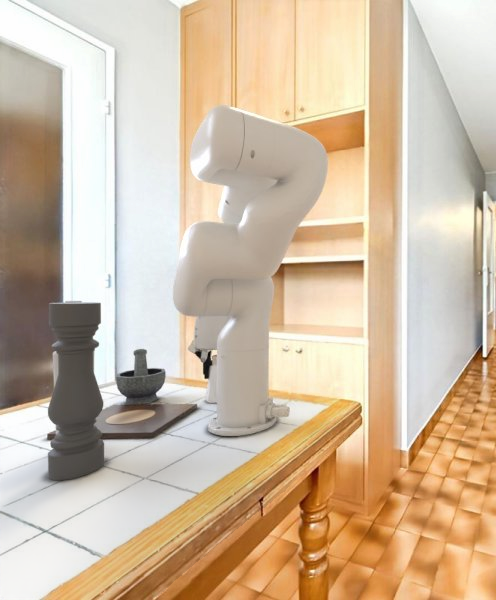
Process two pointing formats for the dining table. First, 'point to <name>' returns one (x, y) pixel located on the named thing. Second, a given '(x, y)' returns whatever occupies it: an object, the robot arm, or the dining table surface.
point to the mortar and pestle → (140, 381)
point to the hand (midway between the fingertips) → (218, 376)
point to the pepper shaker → (212, 382)
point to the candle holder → (75, 392)
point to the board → (137, 419)
